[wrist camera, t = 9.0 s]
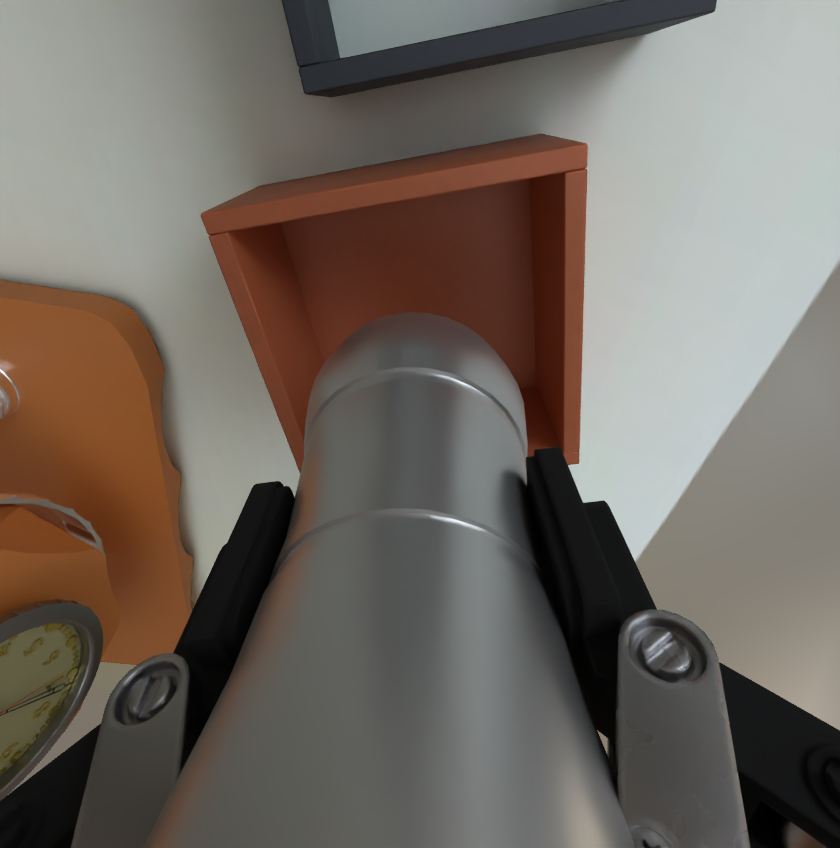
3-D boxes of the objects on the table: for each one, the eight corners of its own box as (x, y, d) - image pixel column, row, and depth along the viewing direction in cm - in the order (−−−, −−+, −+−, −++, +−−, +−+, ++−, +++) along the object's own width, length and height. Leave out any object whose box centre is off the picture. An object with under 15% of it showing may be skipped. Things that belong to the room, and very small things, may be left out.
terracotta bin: (258, 186, 21) (198, 213, 15) (542, 133, 20) (588, 142, 14) (331, 419, 28) (308, 496, 22) (547, 390, 27) (579, 464, 21)
